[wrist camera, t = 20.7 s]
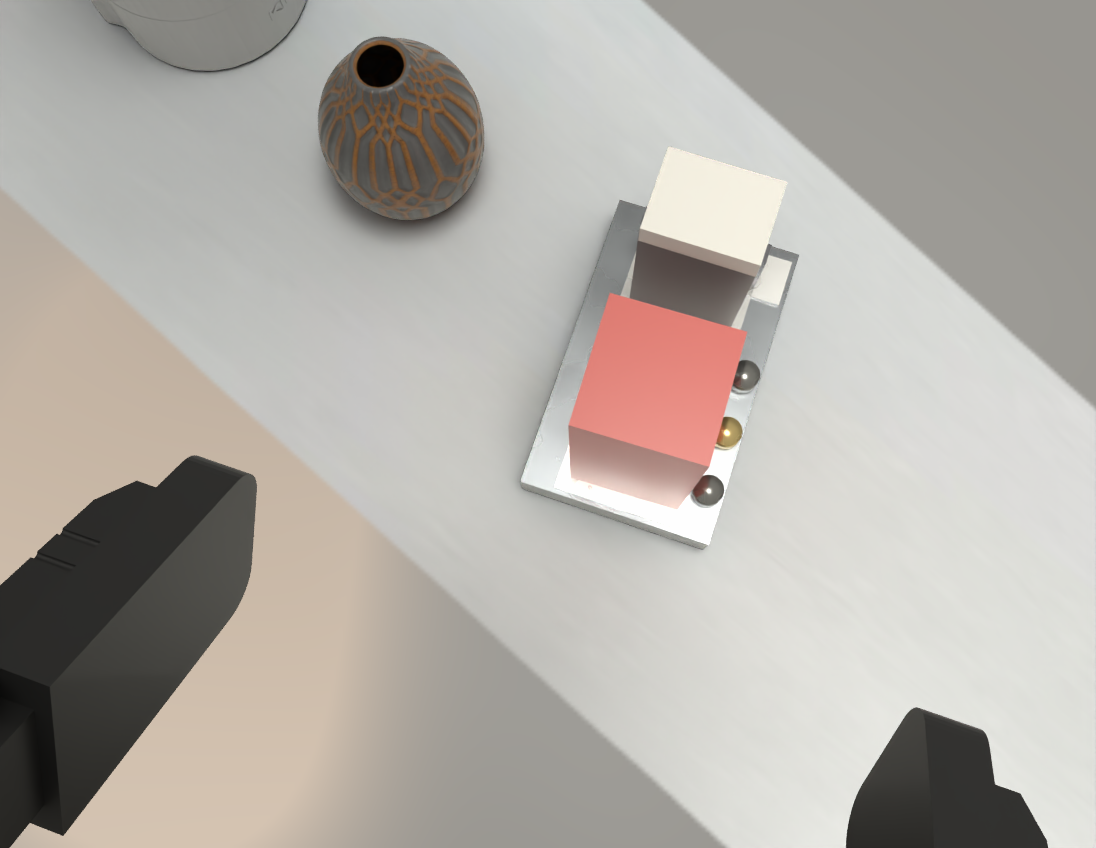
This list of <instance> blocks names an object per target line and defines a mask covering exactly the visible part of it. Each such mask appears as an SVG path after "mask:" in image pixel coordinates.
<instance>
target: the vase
mask: <svg viewBox="0 0 1096 848" xmlns="http://www.w3.org/2000/svg"><path fill="white" fill-rule="evenodd" d="M318 131H319V139H320V144H321V148H322V152H323V154H324V157H325V159H326V162H327V164H328V166H329V168H330V170H331V172H332V173H333V175H334V177H335V178H336V180H337V181H338V183H339V184H340V185H341V186H342V188H343V189H344V190H345V191H346V192H347V193H348V195H350V196H351V197H352V198H353V199H354V200H355V201H357V202H358V203H359V204H361V205H362V206H364V207H365V208H367V209H369V210H371V211H373V212H375V213H377V214H379V215H382V216H385V217H389V218H393V219H400V220H416V219H423V218H427V217H430V216H433V215H436V214H438V213H440V212H442V211H444V210H446V209H447V208H449V207H450V206H452V205H453V204H454V203H455V202H457V201H458V200H459V199H460V198H461V197H462V196H463V195H464V194H465V192H466V191H467V190H468V188H469V187H470V185H471V184H472V182H473V180H474V178H475V176H476V174H477V172H478V170H479V167H480V164H481V160H482V156H483V150H484V126H483V118H482V113H481V109H480V106H479V102H478V100H477V97H476V95H475V93H474V91H473V89H472V87H471V85H470V84H469V82H468V81H467V79H466V78H465V76H464V75H463V74H462V72H461V71H460V70H459V69H458V68H457V67H456V65H455V64H454V63H453V62H451V61H450V60H449V59H448V58H447V57H446V56H444V55H443V54H442V53H440V52H439V51H437V50H435V49H434V48H432V47H430V46H428V45H426V44H423V43H420V42H417V41H413V40H408V39H401V38H389V37H374V38H371V39H368V40H366V41H364V42H362V43H361V44H360V45H358V46H357V47H356V48H355V50H354V51H352V52H351V53H349V54H348V55H347V56H346V57H345V58H344V59H343V60H342V61H341V62H340V63H339V64H338V65H337V66H336V67H335V69H334V70H333V71H332V73H331V74H330V76H329V78H328V80H327V82H326V84H325V87H324V89H323V92H322V96H321V100H320V105H319V113H318Z"/></svg>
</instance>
